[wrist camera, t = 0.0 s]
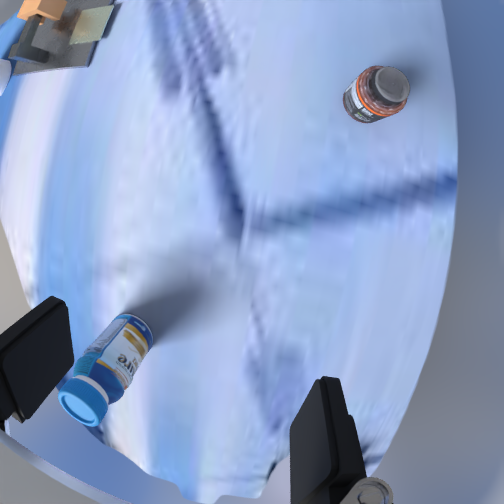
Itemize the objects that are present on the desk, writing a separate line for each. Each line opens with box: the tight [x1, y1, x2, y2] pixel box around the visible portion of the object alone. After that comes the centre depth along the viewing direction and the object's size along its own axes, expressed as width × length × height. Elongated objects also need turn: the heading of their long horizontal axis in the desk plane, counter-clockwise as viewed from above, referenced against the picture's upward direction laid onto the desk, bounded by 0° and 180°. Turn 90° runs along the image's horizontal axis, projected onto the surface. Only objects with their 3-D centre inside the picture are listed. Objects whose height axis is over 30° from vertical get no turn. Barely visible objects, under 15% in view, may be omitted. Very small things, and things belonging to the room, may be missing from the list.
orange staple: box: [17, 0, 67, 25], centre depth 23 cm, size 4×6×7 cm, turn 76°
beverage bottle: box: [58, 314, 153, 426], centre depth 37 cm, size 8×8×20 cm
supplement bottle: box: [343, 66, 410, 123], centre depth 28 cm, size 6×6×11 cm
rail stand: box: [8, 0, 114, 76], centre depth 26 cm, size 16×22×9 cm
